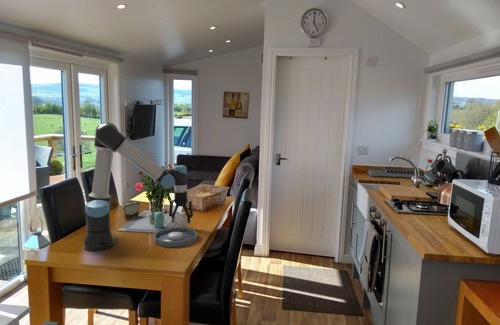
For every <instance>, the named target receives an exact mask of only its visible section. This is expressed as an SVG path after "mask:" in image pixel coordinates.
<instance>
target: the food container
mask: <svg viewBox="0 0 500 325" xmlns="http://www.w3.org/2000/svg"><path fill="white" fill-rule="evenodd" d="M140 203H141V202H140V201H138V200H129V201H128V200H127V201H124V202H122V205H121V208H122V209H123V216H124V220H129V219H133V218H137V217H139V212H140Z"/></svg>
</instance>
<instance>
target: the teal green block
mask: <svg viewBox="0 0 500 325" xmlns="http://www.w3.org/2000/svg"><path fill="white" fill-rule="evenodd" d="M157 228H159V229H164V212H163V211H155V212H154V229H157Z"/></svg>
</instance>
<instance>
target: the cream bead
mask: <svg viewBox="0 0 500 325" xmlns="http://www.w3.org/2000/svg"><path fill="white" fill-rule="evenodd" d="M176 227H184V228H186V213H185V212H177V213H176Z"/></svg>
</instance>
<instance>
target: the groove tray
mask: <svg viewBox="0 0 500 325" xmlns="http://www.w3.org/2000/svg"><path fill="white" fill-rule="evenodd" d="M198 237H199V236H198V232H197V231H196V230H195V229H193V228H190V227H189V228H186V227H185V228H184V227H177V226H176V227H174V226H173V227H168V228H167V227H166V228H161V229H158V230H157V231H156V232H155V233H153V235H152V238H153V242H154V243H155V244H156V245H158V246H161V247H166V248H178V247H180V246H181V247H185V245H186V246H188V245H191V243H192V244H194V243H195V242H196V241H197V239H198ZM193 242H194V243H193Z"/></svg>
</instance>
